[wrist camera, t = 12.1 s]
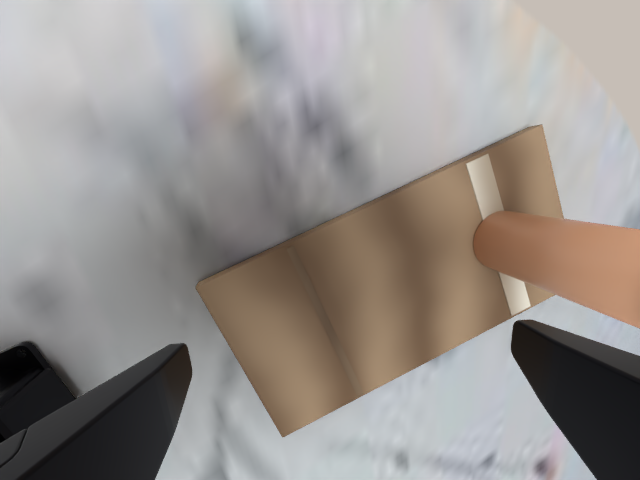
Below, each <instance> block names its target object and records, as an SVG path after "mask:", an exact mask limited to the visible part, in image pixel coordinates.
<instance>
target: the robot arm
mask: <svg viewBox="0 0 640 480" xmlns="http://www.w3.org/2000/svg"><path fill="white" fill-rule="evenodd" d="M21 350H24V351H25V352H26V354H24V353H22V352H21ZM511 352H512V355H513V357H514V359H515V360H516V362H517V364H518V365H519V367H520V369H521V370H522V372H523V374H524V375H525V377H526V379H527V380H528V382H529V384H530V385H531V387H532V389H533V390H534V392H535V394H536V395H537V397H538V399H539V400H540V402H541V403H542V405H543V406H544V408H545V409H546V411H547V412H548V414H549V415H550V416H551V418H552V419H553V421H554V422H555V423H556V425H557V426H558V427H559V429H560V430H561V431H562V433H563V434H564V436H565V437H566V438H567V440H568V441H569V442H570V444H571V445H572V446H573V448H574V449H575V451H576V452H577V453H578V455H579V456H580V457H581V459H582V460H583V461H584V463H585V464H586V466H587V467H588V468H589V470H590V471H591V472H592V474H593V475H594V476H595V478H596V479H597V480H640V356H638V355H635V354H632V353H629V352H626V351H623V350H620V349H617V348H614V347H611V346H608V345H605V344H602V343H599V342H596V341H593V340H590V339H587V338H585V337H582V336H579V335H576V334H573V333H570V332H567V331H564V330H561V329H558V328H555V327H552V326H549V325H546V324H543V323H540V322H537V321H534V320H518V321H516V322H515V323H514V325H513V332H512V341H511ZM191 378H192V366H191V361H190V356H189V351H188V348H187V346H186V344H184V343H180V344H170V345H168V346H166V347H164V348H163V349H161V350H159V351H158V352H156V353H154V354H152V355H151V356H149V357H147V358H146V359H144V360H142V361H140V362H139V363H137V364H135V365H134V366H132V367H130V368H128V369H127V370H125V371H123V372H122V373H120V374H118V375H117V376H115V377H113V378H111V379H110V380H108V381H106V382H105V383H103V384H101V385H99V386H98V387H96V388H94V389H93V390H91V391H89V392H87V393H86V394H84V395H82V396H81V397H79V398H77V399H75V398H74V397H73V395H72V394H71V393H70V391H69V390H68V389H67V388H66V386H65V385H64V384H63V382H62V381H61V380H60V378H59V377H58V376H57V375H56V373H55V372H54V371H53V369H52V368H51V367H50V366H49V364H48V363H47V362H46V360H45V359H44V358H43V356H42V355H41V354H40V353H39V351H38V350H37V349H36V347H35V346H34V345H33V344H32V343H29V342H22V343H19V344H17V345H15V346H13V347H11V348H8V349H6V350H4V351H2V352H0V480H155V478H156V476H157V473H158V471H159V469H160V466H161V464H162V462H163V459H164V457H165V454H166V452H167V450H168V447H169V445H170V443H171V440H172V438H173V435H174V433H175V430H176V427H177V424H178V421H179V417H180V414H181V411H182V407H183V404H184V401H185V398H186V394H187V391H188V388H189V385H190V381H191Z"/></svg>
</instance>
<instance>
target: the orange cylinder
mask: <svg viewBox="0 0 640 480" xmlns="http://www.w3.org/2000/svg"><path fill="white" fill-rule="evenodd" d="M473 246H474V252H475V255H476V257H477V259H478V260H479V261H480V263H482V264H483V265H484V266H486V267H488V268H491V269H493V270H496V271H498V272H501V273H503V274H506V275H508V276H511V277H513V278H516V279H518V280H521V281H523V282H526V283H528V284H531V285H533V286H535V287H538V288H540V289H543V290H545V291H548V292H550V293H553V294H555V295H558V296H560V297H563V298H565V299H568V300H570V301H573V302H575V303H578V304H580V305H583V306H585V307H588V308H590V309H593V310H595V311H598V312H600V313H602V314H605V315H607V316H610V317H612V318H615V319H617V320H620V321H622V322H625V323H627V324H630V325H632V326H635V327H637V328H640V229H632V228H625V227H618V226H611V225H604V224H597V223H590V222H583V221H576V220H569V219H561V218H554V217H547V216H540V215H533V214H526V213H519V212H512V211H498V212H495V213H492V214H491V215H489V216H488V217H486V218H485V219H484V220H483V221H482V222H481V224H480V225H479V227H478V228H477V230H476V233H475V236H474V242H473Z"/></svg>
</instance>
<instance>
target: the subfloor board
mask: <svg viewBox="0 0 640 480" xmlns="http://www.w3.org/2000/svg"><path fill="white" fill-rule="evenodd" d="M498 211H512V212H519V213H526V214H533V215H540V216H547V217H554V218H561V219H564V217H563V213H562V209H561V204H560V200H559V196H558V191H557V187H556V182H555V178H554V174H553V169H552V165H551V161H550V156H549V152H548V148H547V143H546V139H545V135H544V130H543V126H542V125H537V126H531V127H528V128H526V129H524V130H522V131H520V132H517V133H515V134H513V135H511V136H509V137H507V138H505V139H503V140H500V141H498V142H496V143H494V144H492V145H490V146H488V147H485V148H483V149H481V150H479V151H477V152H475V153H473V154H471V155H468V156H466V157H464V158H462V159H460V160H458V161H456V162H454V163H451V164H449V165H447V166H445V167H443V168H441V169H439V170H436V171H434V172H432V173H430V174H428V175H426V176H424V177H422V178H419V179H417V180H415V181H413V182H411V183H409V184H407V185H404V186H402V187H400V188H398V189H396V190H394V191H392V192H390V193H387V194H385V195H383V196H381V197H379V198H377V199H375V200H373V201H370V202H368V203H366V204H364V205H362V206H360V207H358V208H355V209H353V210H351V211H349V212H347V213H345V214H343V215H341V216H338V217H336V218H334V219H332V220H330V221H328V222H326V223H324V224H321V225H319V226H317V227H315V228H313V229H311V230H309V231H306V232H304V233H302V234H300V235H298V236H296V237H294V238H292V239H289V240H287V241H285V242H283V243H281V244H279V245H277V246H275V247H272V248H270V249H268V250H266V251H264V252H262V253H260V254H257V255H255V256H253V257H251V258H249V259H247V260H245V261H243V262H240V263H238V264H236V265H234V266H232V267H230V268H228V269H225V270H223V271H221V272H219V273H217V274H215V275H213V276H211V277H208V278H206V279H204V280H202V281H200V282H198V284H197V286H196V287H195V288H196V290H197V291H198V293H199V295H200V297H201V298H202V300H203V302H204V303H205V305H206V307H207V309H208V310H209V312H210V314H211V315H212V317H213V319H214V321H215V322H216V324H217V326H218V327H219V329H220V331H221V333H222V334H223V336H224V338H225V339H226V341H227V343H228V345H229V346H230V348H231V350H232V352H233V353H234V355H235V357H236V358H237V360H238V362H239V364H240V365H241V367H242V369H243V370H244V372H245V374H246V376H247V377H248V379H249V381H250V382H251V384H252V386H253V388H254V389H255V391H256V393H257V394H258V396H259V398H260V400H261V401H262V403H263V405H264V406H265V408H266V410H267V412H268V413H269V415H270V417H271V418H272V420H273V422H274V424H275V425H276V427H277V429H278V430H279V432H280V434H281V436H282V437H285V436H287V435H289V434H290V433H292V432H294V431H296V430H298V429H300V428H302V427H304V426H306V425H308V424H310V423H311V422H313V421H315V420H317V419H319V418H321V417H323V416H325V415H327V414H329V413H331V412H332V411H334V410H336V409H338V408H340V407H342V406H344V405H346V404H348V403H350V402H352V401H353V400H355V399H357V398H359V397H361V396H363V395H365V394H367V393H369V392H371V391H373V390H374V389H376V388H378V387H380V386H382V385H384V384H386V383H388V382H390V381H392V380H394V379H395V378H397V377H399V376H401V375H403V374H405V373H407V372H409V371H411V370H413V369H415V368H417V367H418V366H420V365H422V364H424V363H426V362H428V361H430V360H432V359H434V358H436V357H438V356H439V355H441V354H443V353H445V352H447V351H449V350H451V349H453V348H455V347H457V346H459V345H460V344H462V343H464V342H466V341H468V340H470V339H472V338H474V337H476V336H478V335H480V334H481V333H483V332H485V331H487V330H489V329H491V328H493V327H495V326H497V325H499V324H501V323H502V322H504V321H506V320H508V319H510V318H512V317H514V316H516V315H518V314H520V313H522V312H523V311H525V310H527V309H529V308H531V307H533V306H535V305H537V304H539V303H541V302H543V301H545V300H546V299H548V298H550V297H552V296H554V295H555V294H553V293H550V292H548V291H545V290H543V289H540V288H538V287H535V286H533V285H531V284H528V283H526V282H523V281H521V280H518V279H516V278H513V277H511V276H508V275H506V274H503V273H501V272H498V271H496V270H493V269H491V268H488V267H486V266H484V265H483V264H482V263H480V261H479V260H478V259H477V257H476V255H475V252H474V246H473V242H474V236H475V233H476V230H477V228H478V227H479V225H480V224H481V222H482V221H483V220H484V219H485V218H486V217H488V216H489V215H491V214H492V213H495V212H498Z"/></svg>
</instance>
